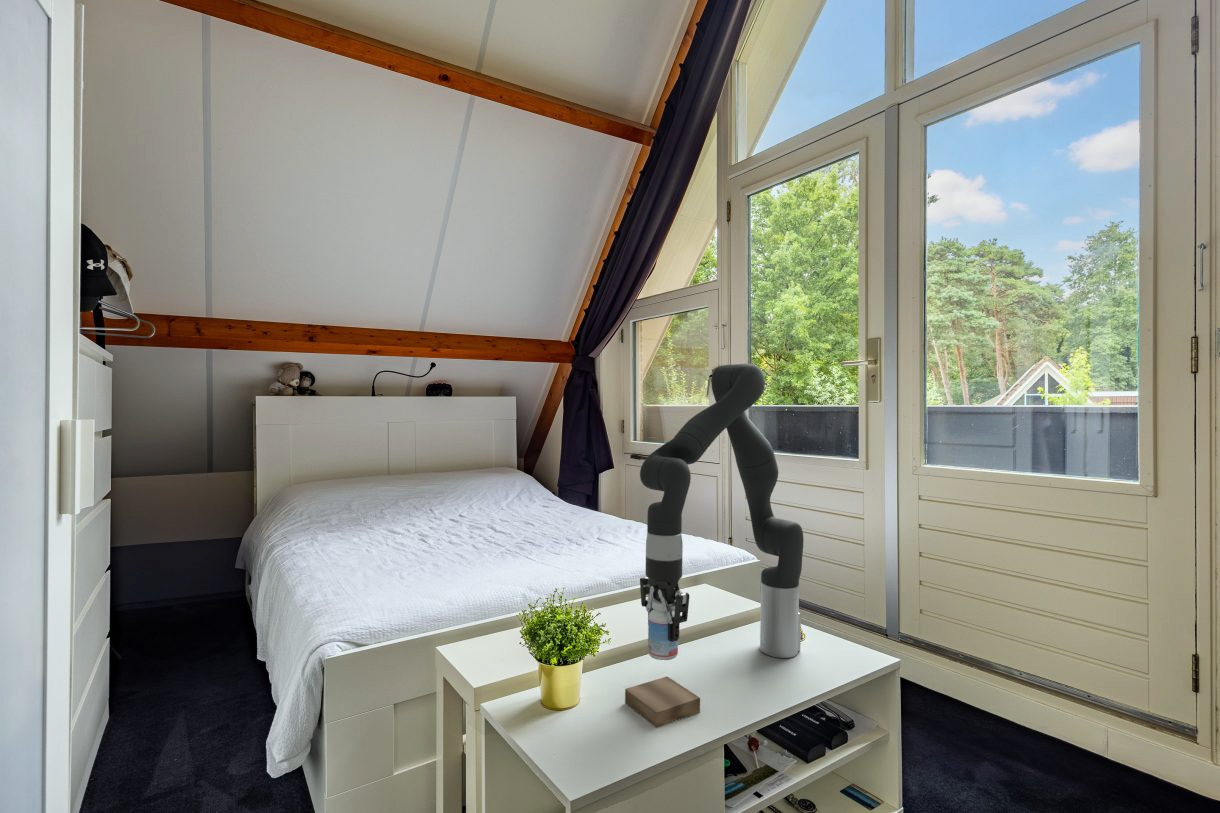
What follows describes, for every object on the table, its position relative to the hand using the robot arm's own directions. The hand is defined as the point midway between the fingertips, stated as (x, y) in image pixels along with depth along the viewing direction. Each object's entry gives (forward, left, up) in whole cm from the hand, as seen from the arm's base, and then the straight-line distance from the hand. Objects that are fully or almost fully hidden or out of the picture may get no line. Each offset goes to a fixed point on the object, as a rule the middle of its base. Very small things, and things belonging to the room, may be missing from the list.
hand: (663, 634), depth 126 cm
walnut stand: (0, 0, -15) cm, 15 cm away
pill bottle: (0, 0, -4) cm, 4 cm away
